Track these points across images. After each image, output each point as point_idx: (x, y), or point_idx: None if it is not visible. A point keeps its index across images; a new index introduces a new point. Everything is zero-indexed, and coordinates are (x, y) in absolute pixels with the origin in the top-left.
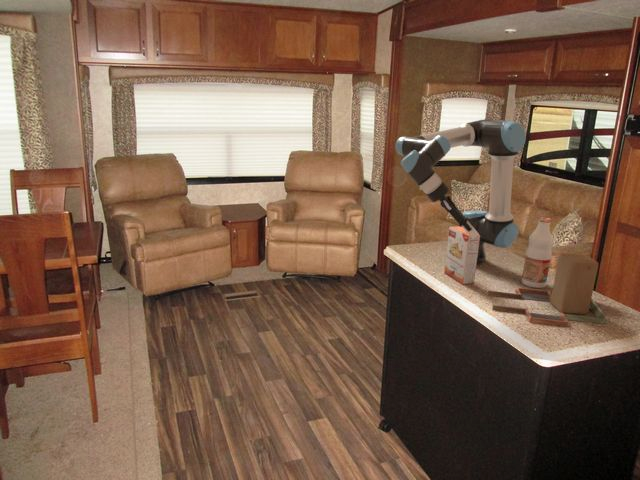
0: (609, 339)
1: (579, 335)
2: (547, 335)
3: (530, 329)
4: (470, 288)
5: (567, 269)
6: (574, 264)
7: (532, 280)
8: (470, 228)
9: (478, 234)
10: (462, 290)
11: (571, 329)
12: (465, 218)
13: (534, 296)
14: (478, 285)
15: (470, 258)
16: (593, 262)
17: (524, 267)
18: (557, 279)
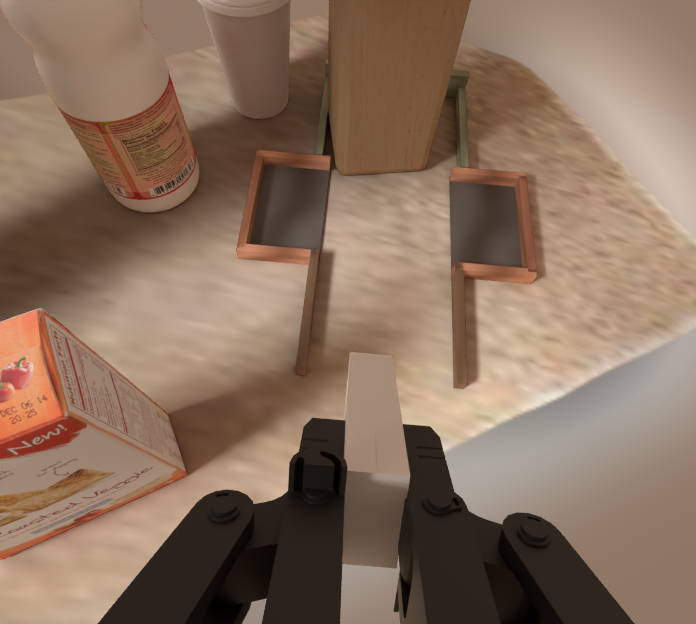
0: (565, 115)
1: (572, 174)
2: (614, 257)
3: (592, 295)
4: (236, 442)
5: (447, 30)
6: None
7: (187, 174)
8: (438, 443)
9: (392, 360)
10: (268, 487)
11: (537, 181)
12: (330, 499)
13: (291, 208)
14: (191, 396)
15: (134, 418)
16: None
17: (126, 166)
18: (372, 96)
